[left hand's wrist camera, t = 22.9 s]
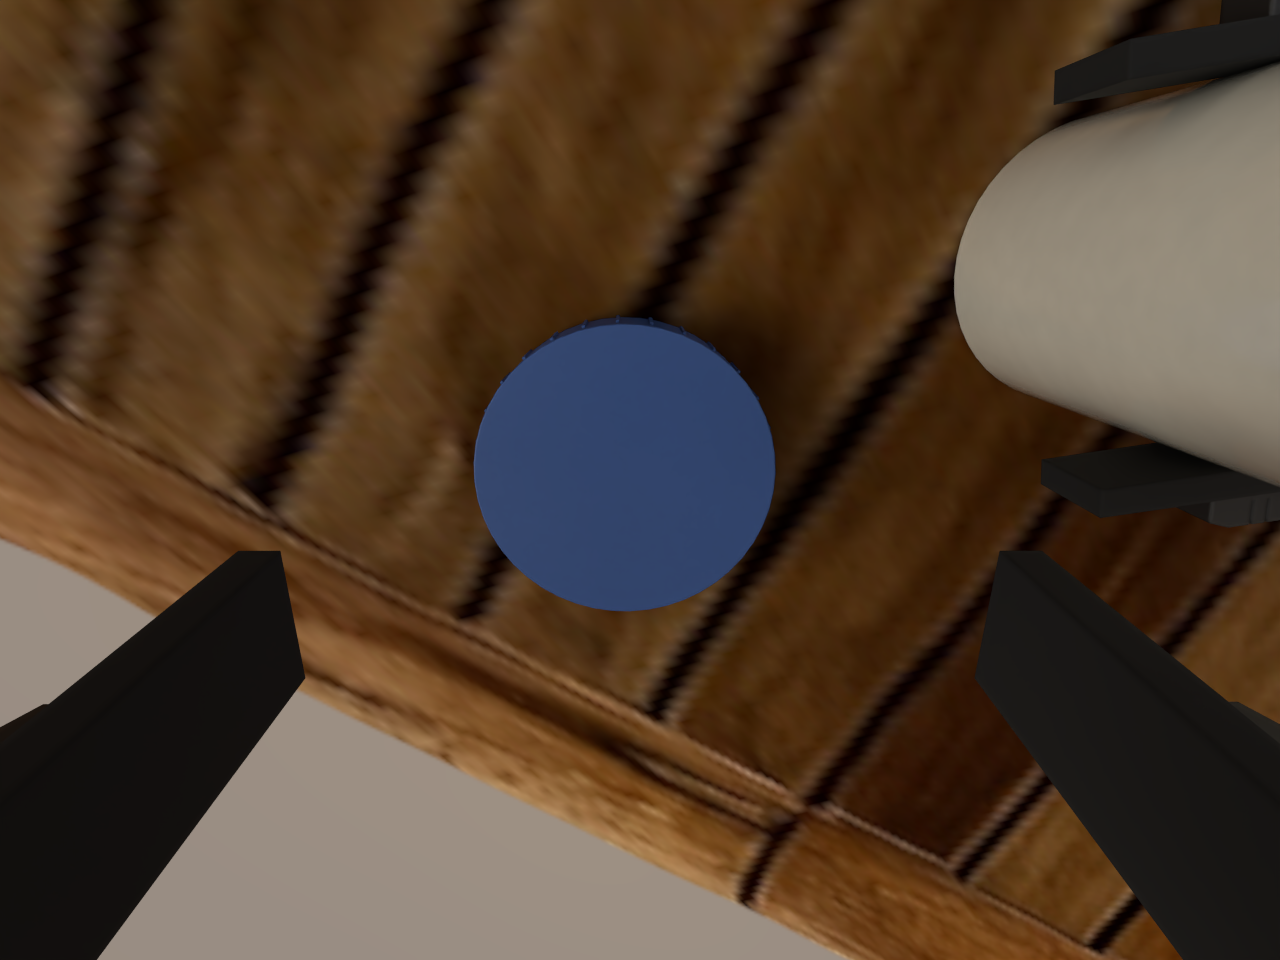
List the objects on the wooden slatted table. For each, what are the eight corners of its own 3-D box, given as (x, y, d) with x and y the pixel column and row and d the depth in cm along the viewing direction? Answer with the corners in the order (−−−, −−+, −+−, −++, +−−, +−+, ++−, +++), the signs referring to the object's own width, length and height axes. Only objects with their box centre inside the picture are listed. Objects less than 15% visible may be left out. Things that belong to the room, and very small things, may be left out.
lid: (678, 624, 28) (682, 657, 25) (440, 511, 26) (422, 535, 24) (819, 402, 25) (837, 417, 23) (562, 259, 23) (555, 260, 21)
